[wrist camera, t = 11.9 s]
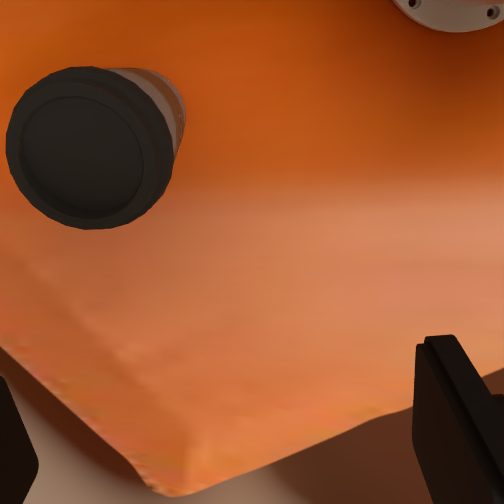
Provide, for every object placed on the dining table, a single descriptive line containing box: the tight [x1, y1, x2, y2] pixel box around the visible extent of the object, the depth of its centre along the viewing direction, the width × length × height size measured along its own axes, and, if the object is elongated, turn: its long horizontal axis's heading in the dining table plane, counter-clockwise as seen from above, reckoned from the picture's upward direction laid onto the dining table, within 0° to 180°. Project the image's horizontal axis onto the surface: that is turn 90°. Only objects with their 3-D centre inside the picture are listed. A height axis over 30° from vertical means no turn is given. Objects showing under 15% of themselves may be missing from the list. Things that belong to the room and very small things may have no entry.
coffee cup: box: [6, 66, 186, 230], centre depth 30 cm, size 8×8×15 cm
